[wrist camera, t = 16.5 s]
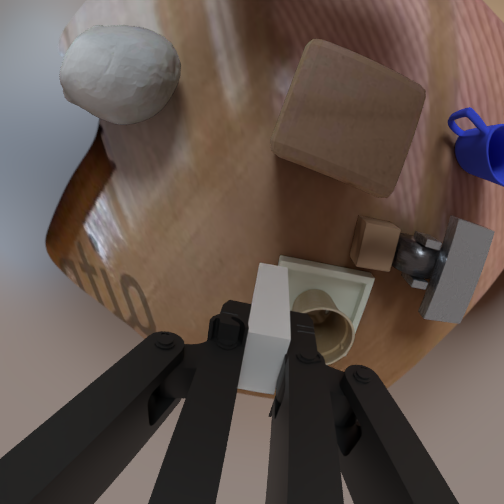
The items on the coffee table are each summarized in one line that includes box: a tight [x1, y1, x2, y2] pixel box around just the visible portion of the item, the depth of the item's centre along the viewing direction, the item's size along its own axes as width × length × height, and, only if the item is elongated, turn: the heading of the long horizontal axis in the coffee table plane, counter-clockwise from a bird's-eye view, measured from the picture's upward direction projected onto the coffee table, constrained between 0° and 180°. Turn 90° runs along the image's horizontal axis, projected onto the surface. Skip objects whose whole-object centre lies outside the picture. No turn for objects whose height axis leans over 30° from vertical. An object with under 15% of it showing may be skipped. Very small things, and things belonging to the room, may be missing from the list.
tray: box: [278, 255, 375, 356], centre depth 45 cm, size 14×14×2 cm
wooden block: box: [271, 39, 426, 198], centre depth 28 cm, size 10×10×20 cm
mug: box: [448, 107, 504, 187], centre depth 31 cm, size 8×12×10 cm
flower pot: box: [292, 289, 355, 365], centre depth 41 cm, size 9×9×9 cm
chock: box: [349, 215, 401, 272], centre depth 40 cm, size 6×5×4 cm
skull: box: [60, 25, 181, 125], centre depth 31 cm, size 13×18×15 cm
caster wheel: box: [392, 215, 494, 324], centre depth 37 cm, size 14×12×9 cm
